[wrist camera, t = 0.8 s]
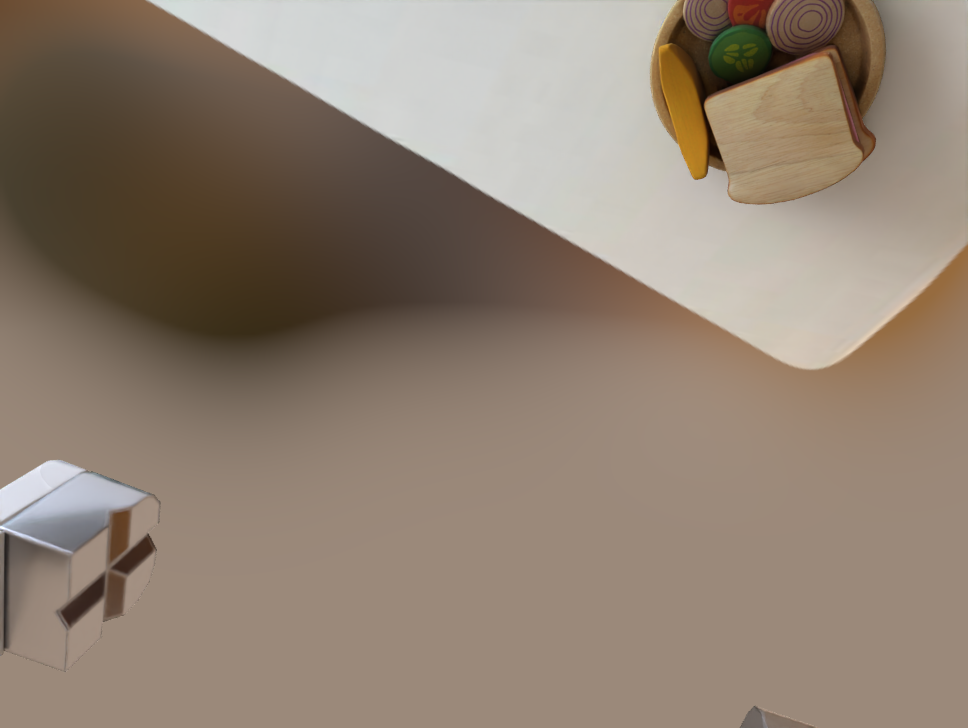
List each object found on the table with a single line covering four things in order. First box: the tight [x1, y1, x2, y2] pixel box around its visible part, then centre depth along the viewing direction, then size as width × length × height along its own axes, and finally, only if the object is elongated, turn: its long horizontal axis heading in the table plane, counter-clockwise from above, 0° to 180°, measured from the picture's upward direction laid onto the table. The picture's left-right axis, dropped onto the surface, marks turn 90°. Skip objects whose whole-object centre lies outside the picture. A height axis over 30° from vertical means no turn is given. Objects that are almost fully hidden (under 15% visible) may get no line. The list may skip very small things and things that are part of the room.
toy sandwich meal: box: [650, 0, 886, 204], centre depth 44 cm, size 12×14×5 cm
